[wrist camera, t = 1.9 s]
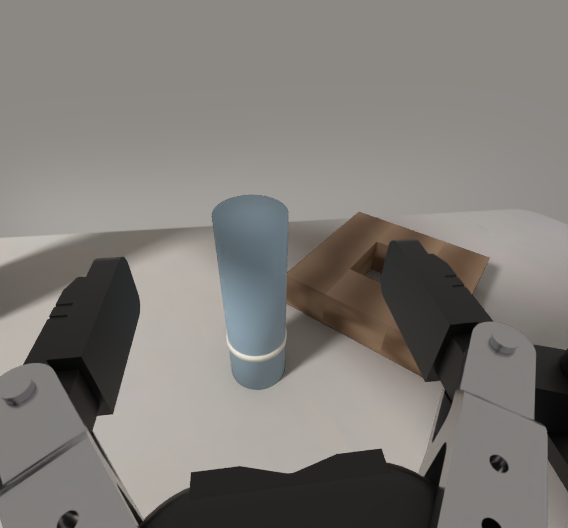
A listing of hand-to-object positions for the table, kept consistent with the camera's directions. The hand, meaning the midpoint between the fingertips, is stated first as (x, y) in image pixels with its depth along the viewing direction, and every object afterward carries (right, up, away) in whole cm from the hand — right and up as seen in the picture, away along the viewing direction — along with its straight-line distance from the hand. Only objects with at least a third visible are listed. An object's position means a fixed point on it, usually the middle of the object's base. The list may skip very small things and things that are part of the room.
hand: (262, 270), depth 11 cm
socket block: (+12, -3, +29) cm, 32 cm away
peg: (-2, -9, +21) cm, 23 cm away
